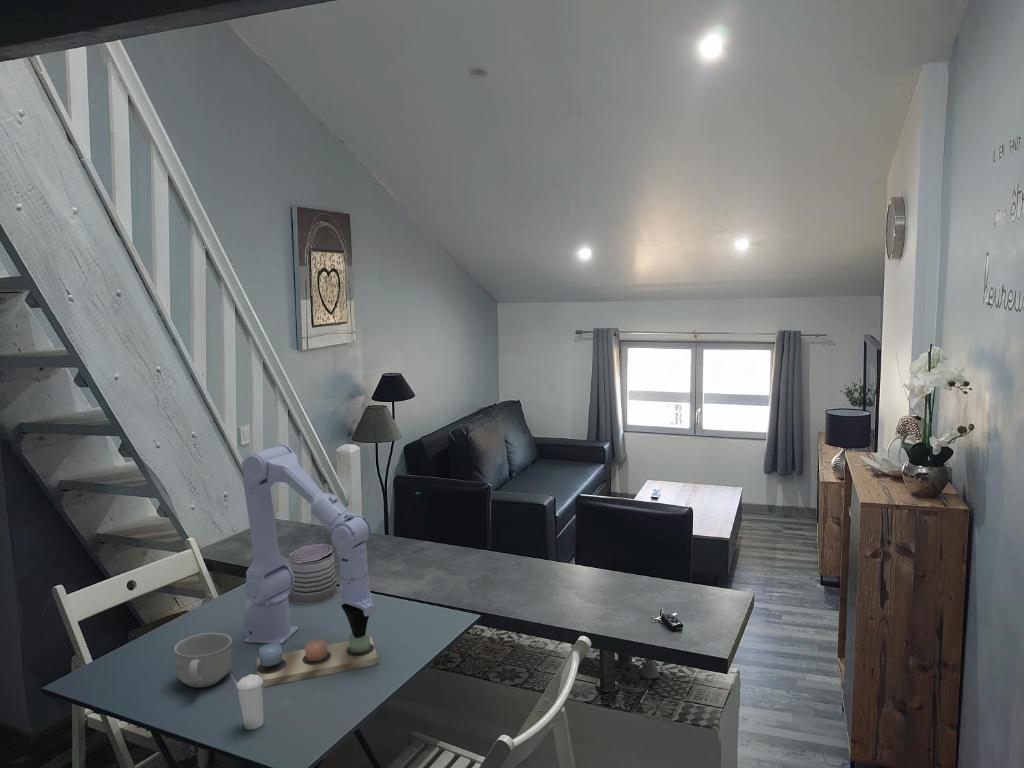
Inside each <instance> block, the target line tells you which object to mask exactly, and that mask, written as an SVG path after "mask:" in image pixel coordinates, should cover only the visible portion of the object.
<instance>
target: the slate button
mask: <svg viewBox="0 0 1024 768" xmlns="http://www.w3.org/2000/svg"><path fill="white" fill-rule="evenodd" d="M282 653H283V649H282V644H279V643H270V644H268V643H265V644H264V645H261V646H260V647H259V649H258V656H259V657H258V658H260V664H261V665H263V666H272V665H275V664H278V663H279V662H281V661H282Z"/></svg>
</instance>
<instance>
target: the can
mask: <svg viewBox="0 0 1024 768" xmlns="http://www.w3.org/2000/svg"><path fill="white" fill-rule="evenodd" d="M333 549H334V545H333V544H332V545H331V544H326V543H317V544H312V545H307V546H306V545H305V546H303V547H300V548H299V549H296V550H294V551H292V552H291V553H289V555H288V557H287V559H288V560H289V566H290V568H291V570H292V572H293V575H294V585H293V586H292V588H291V589H290V594H291V600H292V601H293V602H294V603H295V604H297V605H298V604H299V605H305V606H310V605H311V606H312V605H317V604H322V603H326V602H327V601H329V600H333V598H334V597H335V595H336V594H337V593H338V591H337V590H338V589H337V588H338V587H337V578H336V567H335V566H336V565H335V554H334V551H333Z"/></svg>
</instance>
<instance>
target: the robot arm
mask: <svg viewBox="0 0 1024 768" xmlns="http://www.w3.org/2000/svg"><path fill="white" fill-rule="evenodd" d="M241 467H242V468H241V470H242V475H243V490H244V496H245V502H246V511H247V517H248V524H249V531H250V537H251V538H250V540H251V544H252V552H253V561H252V563H250V565H249V567H248V568H247V570H246V572H245V576H246V580H245V581H246V582H245V583H244V584H245V585H244V590H245V595H246V598H248V600H247V601H246V602H245V605H244V609H243V620H244V621H243V624H244V630H245V631H244V632H245V638H244V639H243V641H244V643H252V644H253V643H254V644H270V643H279V644H281V645H283V644H284V643H285V642H286V641H287V640H288V639H289V638H290V637H291V636H293V635H294V634H295V632H296V631H298V630H299V626H297V625H296V626H295V625H291V616H290V614H291V613H290V605H289V595H290V594H291V588H292V586H293V585H294V575H293V572H292V570H291V568H290V566H289V560H288V557H287V558H286V557H284V556H282V555H281V553H280V548H279V542H278V541H279V539H278V534H277V525H276V519H275V512H274V507H273V506H274V505H273V498H272V497H273V496H272V492H271V488H272V487H273V485H275V483H286V484H287V485H288V486H289V487H290V488H292V489H293V490H294V491H295V492H296V493H297V494H298V495H300V496H301V497H302V498H303V499H304V500H305V501H306V502H307V503H309V504H310V512H311V514H312V515H313V516H314V518H316V519H317V521H319V523H321V525H323V526H324V527H325V528H326V530H327V531H329V533H330V534H332V535H330V539H331V542H332V545H333V547H335V549H336V550H335V551H336V555H337V557H338V559H339V561H338V562H339V571H340V572H339V573H340V584H339V592H340V593H339V594H340V596H339V597H336V602H337V603H338V604H340V607H341V609H342V610H343V612H344V613H345V615H346V618H347V620H348V622H349V625H350V626H349V627H350V630H351V634H352V633H353V636H354V637H355V638H359V637H363V636H365V633H366V632H367V627H368V621H369V617H370V616H373V615H375V606H374V604H373V602H372V601H373V600H372V592H371V590H370V577H369V564H368V561H369V560H368V552H367V548H368V547H367V541H368V540H369V539H370V537H371V534H372V528H371V524H370V523H369V521H368V520H367V519H366V517H365V516H364V515H361V514H356V513H355V512H351V511H350V510H349V509H348V508H347V507H346V506H345V505H344V504H343V503H342V502H341V501H340V500H339V498H338V497H337V496H336V495H335V494H333V493H332V492H331V493H329V492H328V493H326V492H323V491H322V489H321V488H320V487H319V486H318V485H317V484H316V483H315V482H314V481H313V479H312V477H310V476H309V475H308V473H307V472H306V471H305V470H304V468H303V467H301V465H300V464H299V456H298V454H296V453H295V452H294V450H293V449H292V448H291V447H289V445H286V444H278V445H276V446H275V447H270V448H267V449H264V450H263V449H262V450H260V451H257V452H256V451H255V452H251V453H249V454H248V455H246V457H245V458H244V459H243V460H242V461H241Z"/></svg>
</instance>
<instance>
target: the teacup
mask: <svg viewBox="0 0 1024 768" xmlns="http://www.w3.org/2000/svg"><path fill="white" fill-rule="evenodd" d="M232 640H233V639H232V638H231V636H230V635H228V634H226V633H221V632H204V633H203V632H202V633H198V634H195V635H191V636H188V637H186V638H183V639H181V640H180V641H179V642H177V643H176V644H175V645H174V647H173V651H174V658H175V659H174V661H175V662H174V663H175V669H176V670H175V671H176V676H177V678H178V680H180V682H182V683H184V684H186V685H187V686H189V687H191V688H206V687H210V686H213V685H215V684H217V683H219V682H220V681H221V680H222V679H223V678H224V677H225V676H226V675H227V674H228V673H229V671H230V669H231V666H232V657H233V656H232V652H233V651H232V644H233V641H232Z"/></svg>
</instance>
